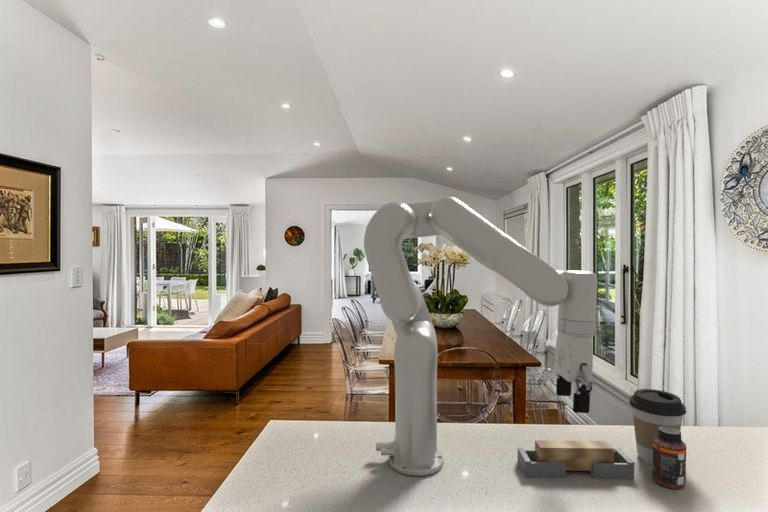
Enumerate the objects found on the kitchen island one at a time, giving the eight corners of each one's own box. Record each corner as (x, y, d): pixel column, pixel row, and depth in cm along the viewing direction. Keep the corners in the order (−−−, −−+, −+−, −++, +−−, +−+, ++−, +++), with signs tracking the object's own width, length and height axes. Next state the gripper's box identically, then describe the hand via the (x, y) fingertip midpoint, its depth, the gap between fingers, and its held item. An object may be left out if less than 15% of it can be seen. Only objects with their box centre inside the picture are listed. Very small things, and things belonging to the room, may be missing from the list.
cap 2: (619, 463, 101) (620, 448, 101) (634, 478, 95) (634, 462, 95) (581, 462, 102) (581, 448, 102) (593, 477, 96) (593, 462, 95)
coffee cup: (696, 471, 98) (699, 404, 97) (645, 471, 98) (647, 405, 97) (664, 447, 109) (665, 387, 109) (618, 447, 109) (619, 387, 109)
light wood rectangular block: (539, 470, 97) (540, 447, 97) (534, 461, 101) (535, 440, 100) (613, 471, 97) (614, 448, 96) (606, 462, 100) (606, 441, 100)
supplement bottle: (690, 492, 90) (692, 437, 90) (658, 488, 91) (660, 434, 91) (677, 476, 96) (679, 425, 96) (647, 473, 97) (648, 422, 97)
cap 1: (525, 476, 96) (525, 461, 96) (517, 462, 102) (517, 447, 102) (565, 477, 96) (565, 461, 96) (555, 462, 102) (555, 448, 102)
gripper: (545, 318, 106) (541, 389, 107) (574, 335, 89) (569, 419, 90) (577, 319, 106) (573, 390, 107) (612, 336, 89) (607, 420, 89)
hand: (571, 403), depth 98 cm, fingers open, 9 cm apart
